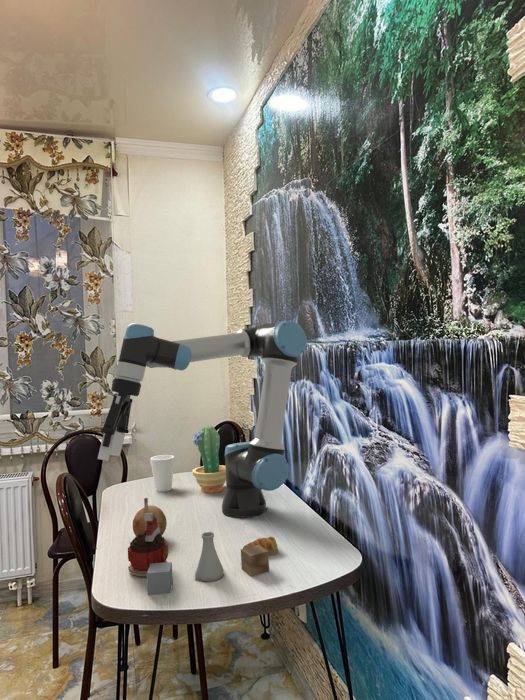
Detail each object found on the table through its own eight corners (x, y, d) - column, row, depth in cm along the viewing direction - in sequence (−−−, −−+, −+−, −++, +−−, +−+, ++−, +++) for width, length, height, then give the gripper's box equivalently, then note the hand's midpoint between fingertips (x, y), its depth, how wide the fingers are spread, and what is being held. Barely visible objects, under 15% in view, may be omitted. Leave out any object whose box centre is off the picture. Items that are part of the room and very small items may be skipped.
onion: (155, 549, 133) (154, 513, 133) (125, 545, 137) (124, 510, 137) (173, 536, 142) (172, 502, 142) (145, 533, 146) (144, 500, 146)
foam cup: (172, 492, 189) (171, 459, 189) (149, 493, 189) (148, 460, 190) (177, 485, 199) (176, 454, 199) (155, 486, 199) (153, 455, 199)
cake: (138, 560, 126) (135, 492, 126) (172, 561, 125) (170, 492, 125) (122, 579, 115) (119, 505, 115) (159, 580, 114) (157, 504, 114)
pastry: (246, 561, 123) (246, 546, 123) (239, 551, 130) (238, 537, 130) (280, 554, 126) (279, 540, 127) (271, 546, 133) (270, 532, 133)
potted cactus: (198, 484, 200) (196, 424, 201) (234, 483, 198) (232, 423, 198) (187, 494, 185) (185, 430, 185) (226, 494, 183) (224, 429, 183)
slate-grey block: (172, 583, 113) (171, 562, 113) (170, 593, 108) (169, 571, 108) (151, 584, 112) (150, 563, 112) (147, 595, 107) (146, 573, 107)
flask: (219, 583, 111) (217, 540, 112) (190, 581, 113) (188, 539, 113) (228, 569, 119) (226, 529, 119) (200, 568, 120) (198, 528, 120)
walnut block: (259, 564, 121) (258, 544, 121) (269, 571, 116) (268, 551, 117) (241, 569, 118) (240, 549, 118) (251, 577, 114) (250, 556, 114)
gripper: (123, 380, 143) (106, 451, 140) (103, 372, 118) (81, 458, 115) (148, 385, 143) (131, 456, 140) (133, 378, 119) (112, 464, 115)
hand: (109, 457), depth 128 cm, fingers open, 13 cm apart
